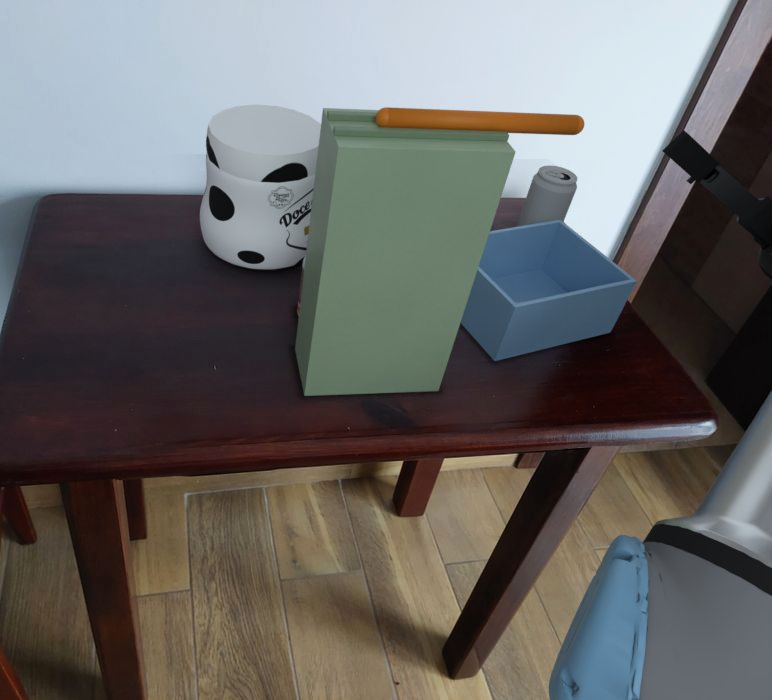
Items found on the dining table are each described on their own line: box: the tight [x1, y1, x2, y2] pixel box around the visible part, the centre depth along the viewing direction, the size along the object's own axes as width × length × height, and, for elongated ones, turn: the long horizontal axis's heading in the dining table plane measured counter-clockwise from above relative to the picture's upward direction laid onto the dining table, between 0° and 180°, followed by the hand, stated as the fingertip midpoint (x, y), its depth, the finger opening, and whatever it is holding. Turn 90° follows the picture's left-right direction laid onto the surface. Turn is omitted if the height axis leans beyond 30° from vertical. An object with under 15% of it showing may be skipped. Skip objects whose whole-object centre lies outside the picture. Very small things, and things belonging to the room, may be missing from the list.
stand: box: [294, 107, 516, 397], centre depth 71 cm, size 16×8×31 cm, turn 98°
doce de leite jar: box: [199, 104, 321, 272], centre depth 92 cm, size 17×17×18 cm
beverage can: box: [515, 165, 578, 227], centre depth 103 cm, size 6×6×12 cm
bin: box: [460, 220, 638, 362], centre depth 90 cm, size 15×19×9 cm
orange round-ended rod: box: [375, 107, 585, 136], centre depth 61 cm, size 20×2×2 cm, turn 98°
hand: (712, 173), depth 66 cm, fingers open, 13 cm apart
